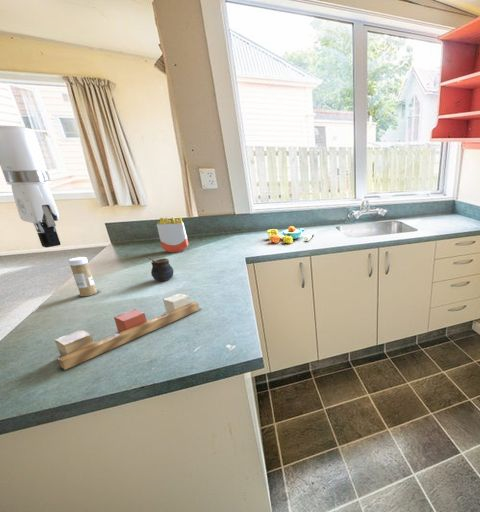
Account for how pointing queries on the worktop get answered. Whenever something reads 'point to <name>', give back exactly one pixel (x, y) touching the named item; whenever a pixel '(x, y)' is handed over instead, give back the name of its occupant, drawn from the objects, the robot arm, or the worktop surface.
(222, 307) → the worktop surface
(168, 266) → the mate gourd
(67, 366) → the rail
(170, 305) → the cream block
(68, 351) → the maple block
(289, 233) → the toy juicer set
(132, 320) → the terracotta block
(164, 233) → the french fries container
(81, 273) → the sprinkles bottle
